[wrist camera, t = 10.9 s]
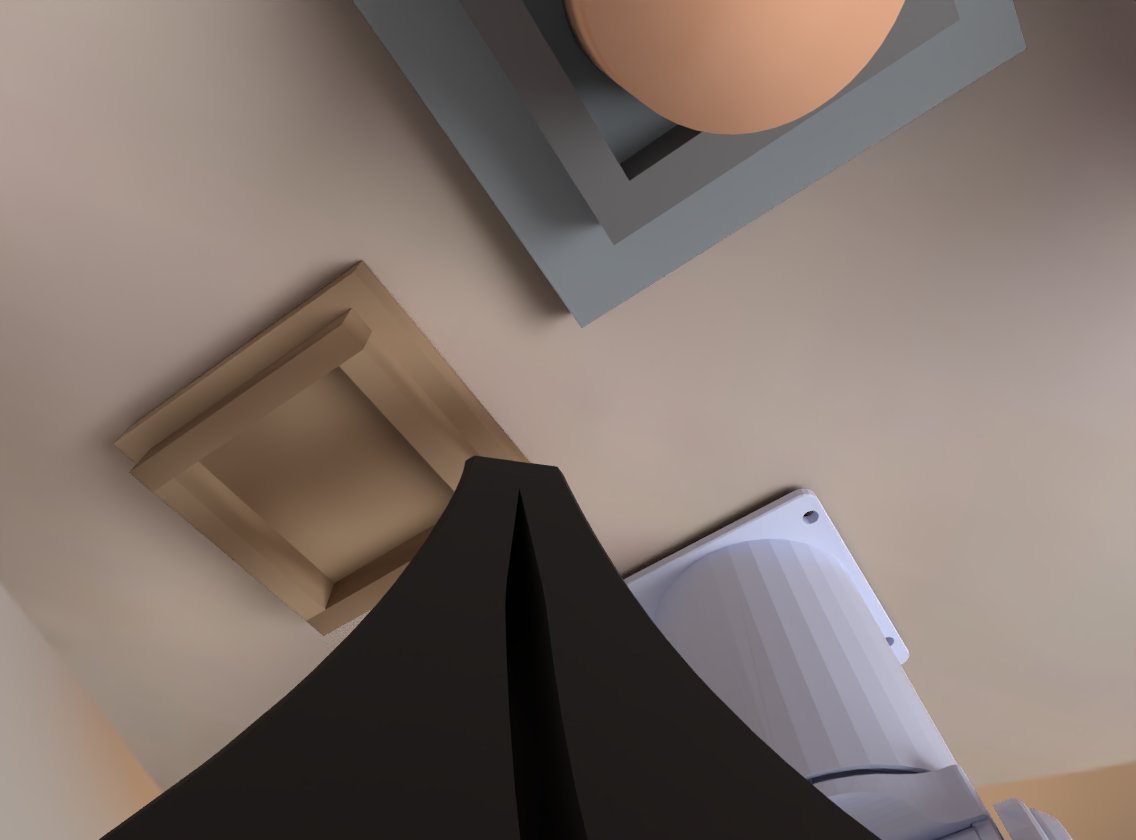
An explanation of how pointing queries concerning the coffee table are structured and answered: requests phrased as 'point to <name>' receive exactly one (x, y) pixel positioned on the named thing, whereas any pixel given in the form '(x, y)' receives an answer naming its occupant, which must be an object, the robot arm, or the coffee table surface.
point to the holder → (320, 449)
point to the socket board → (650, 132)
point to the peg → (731, 54)
